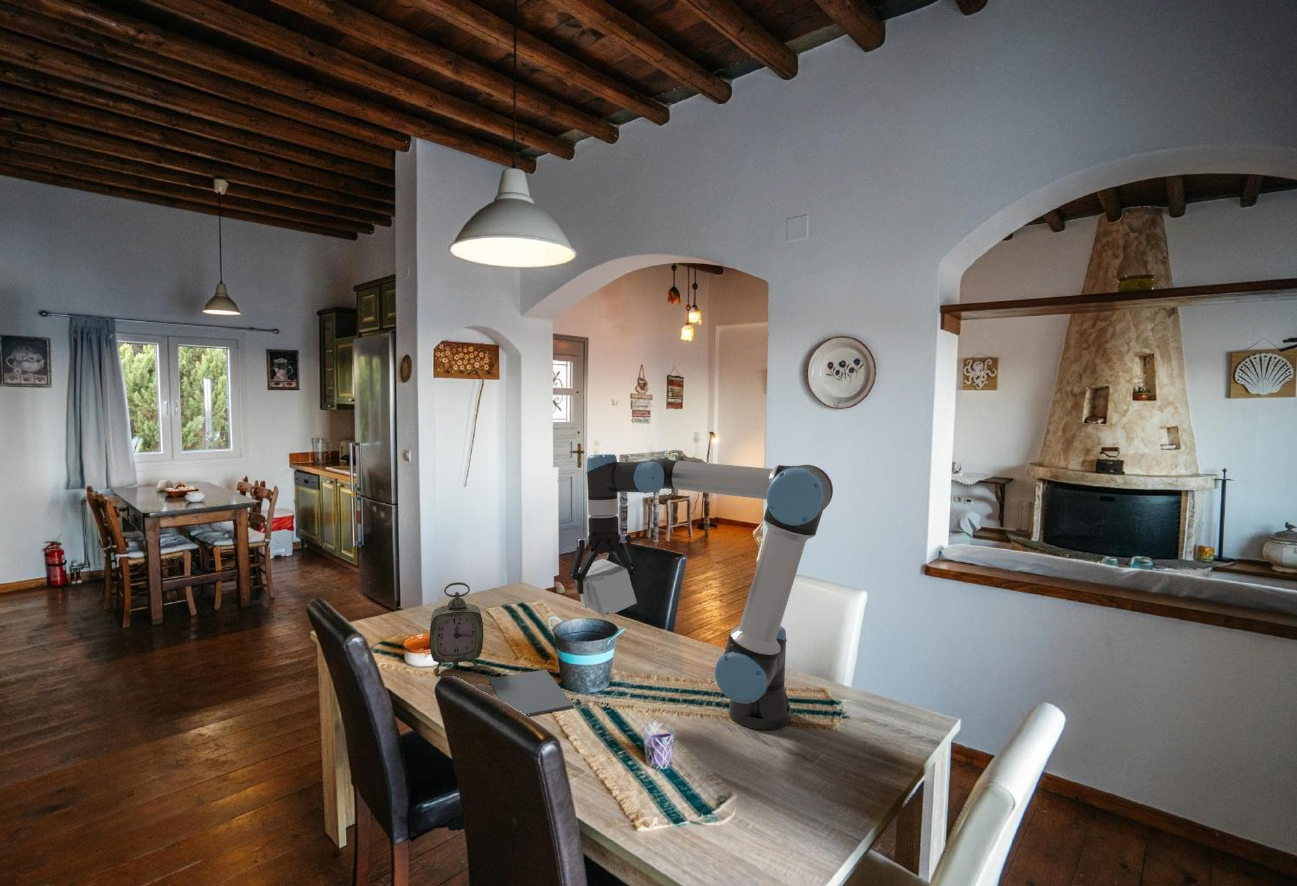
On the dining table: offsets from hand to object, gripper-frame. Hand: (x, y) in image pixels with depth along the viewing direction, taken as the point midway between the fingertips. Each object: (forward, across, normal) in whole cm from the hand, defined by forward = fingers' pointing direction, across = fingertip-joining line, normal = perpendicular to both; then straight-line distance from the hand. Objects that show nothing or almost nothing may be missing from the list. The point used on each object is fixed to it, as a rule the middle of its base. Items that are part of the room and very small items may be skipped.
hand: (606, 603), depth 159 cm
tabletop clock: (+23, +31, -40) cm, 56 cm away
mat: (+25, +16, -16) cm, 34 cm away
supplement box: (-4, 0, -10) cm, 10 cm away
